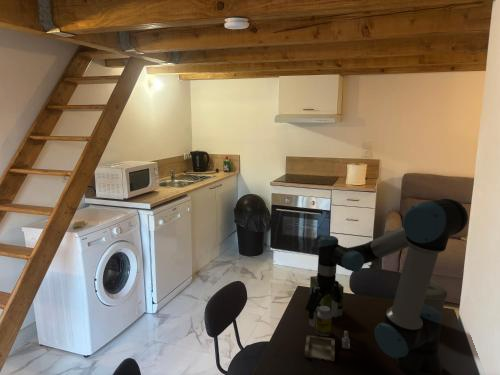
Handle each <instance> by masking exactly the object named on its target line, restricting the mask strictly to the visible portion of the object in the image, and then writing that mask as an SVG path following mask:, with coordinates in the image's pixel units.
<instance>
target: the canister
mask: <svg viewBox="0 0 500 375" xmlns="http://www.w3.org/2000/svg"><path fill="white" fill-rule="evenodd" d="M448 297H449V293H448V292H447V290H446V289H444V288H443V287H442V286H440V285H438V284H436V283H434V282H431V281H430V283H429V287H428V290H427V294H426V297H425V300H424V304H425V305H428V306H431V307H433V308H435V309H437V310H438V311H439V312H440V313H441V315H443V310H444V306H445V302H446V298H448Z"/></svg>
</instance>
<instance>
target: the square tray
mask: <svg viewBox="0 0 500 375" xmlns="http://www.w3.org/2000/svg"><path fill="white" fill-rule="evenodd" d="M335 342H336V339H335V338H331V337H326V336H318V335H317V336H316V335H308V334H307V335H306V339H305V346H304V358H310V359H315V358H316V359H315V360H322V359H324V360H323V361H329V360H330V361H331V362H335V359H336V358H335V357H336V356H335V355H336V352H335V351H336V350H335V349H336V348H335V346H336V344H335ZM317 358H318V359H317Z"/></svg>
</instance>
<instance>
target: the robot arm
mask: <svg viewBox="0 0 500 375" xmlns="http://www.w3.org/2000/svg"><path fill="white" fill-rule="evenodd" d="M468 220H469V216H468V211H467V209H466V208H465V206H463V204H462V203H460V202H459V201H457V200H455V199H451V198H442V199H437V200H430V201H428V200H427V201H422V202H418V203H417V204H414V205H412V206H410V207H409V208H408V209H407V210H406V211H405V213H404V215H403V218H402V226H401V227H398V228H396V229H394V230H392V231H390V232H387V233H385V234H383V235H381V236H379V237H377V238H375V239H373V240H371V241H368V242H366V243H363V244H360V245H359V244H358V245H356V246H351V247H346V246H343V245H340V244H339V238H338V237H337V236H333V235H322V236H321V237H319V241H318V242H319V243H318V257H317V258H318V260H317V273H316V276H317V282H318V287H316V288H315V287H312V293H311V295H310V294H309V299H308V301H307V303H306V305H305V306H306V307H305V309H304V310H305V311H307V312H308V325H309V326H311V327H313V328H316V321H317V311H316V308H317V306H318V304H319V303H320V301H321V299H322V298H324V296H326V295H328V294H330V296H331V297H332V299H333V300H334V301H332V306H331V315H332V316H334V317H333V318H337V317H338V316H337V309H338V303H340V302H341V300H342V295H341V292H340V289H339V284H340V283H339V281H338V280H336V277H337V275H336V274H337V266H339V267H342V268H343V269H345V270H348V271H351V272H354V273H355V272H359V271H360V270H361V269H362V268H363V266H364V265H366V264H368V263H372V262H373V263H374V262H378V261H379V260H381V259H382V258H385V257H387V256H390V255H392V254H395V253H397V252H400V251H402V250H404V249H407V252H406V256H405V259H404V263H403V266H402V270H401V274H400V278H399V282H398V286H397V289H396V292H395V298H394V300H393V304H392V306H390V307H389V308H387V309H386V312H385V316H384V319H383V321H382V322H380V323H378V324H377V325H376V326H375V328H374V337H375V341H376V343H377V344H378V346H379V348H380V349H381V351H382V352H383V353H385V355H387V356H388V357H390V358H392V359H396V364H397V367H398V368H399V369H400V370H401V371H402V372H403V373H405V374H406V375H442V373H443V365H442V360H441V356H440V352H439V350H440V349H439V348H440V339H441V331H442V324H443V321H442V319H443V316H442V315H443V314H442V315H441V313H440V312H439V311H438V310H437V309H435V308H433V307H431V306H428V305H425V304H424V300H425V297H426V294H427V290H428V287H429V283H430V282H431V279H432V276H433V273H434V269H435V266H436V263H437V259H438V256H439V254H440V253H442V252H445V250H446V248H447V244H448V242H449V239H450V236H454V235H457V234H459V233H460V232H462V231H463V230H464V229H465V228H466V226H467V224H468V222H469V221H468ZM333 289H334V290H333ZM334 292H335V293H334ZM319 293H320V294H321V295H320V294H319Z"/></svg>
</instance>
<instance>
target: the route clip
mask: <svg viewBox="0 0 500 375" xmlns="http://www.w3.org/2000/svg"><path fill="white" fill-rule="evenodd" d="M350 344H351V341H350V338H349V331H348V330H344V331H343V337H342V338H341V348H342V349H348V350H350V349H351V345H350Z"/></svg>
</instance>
